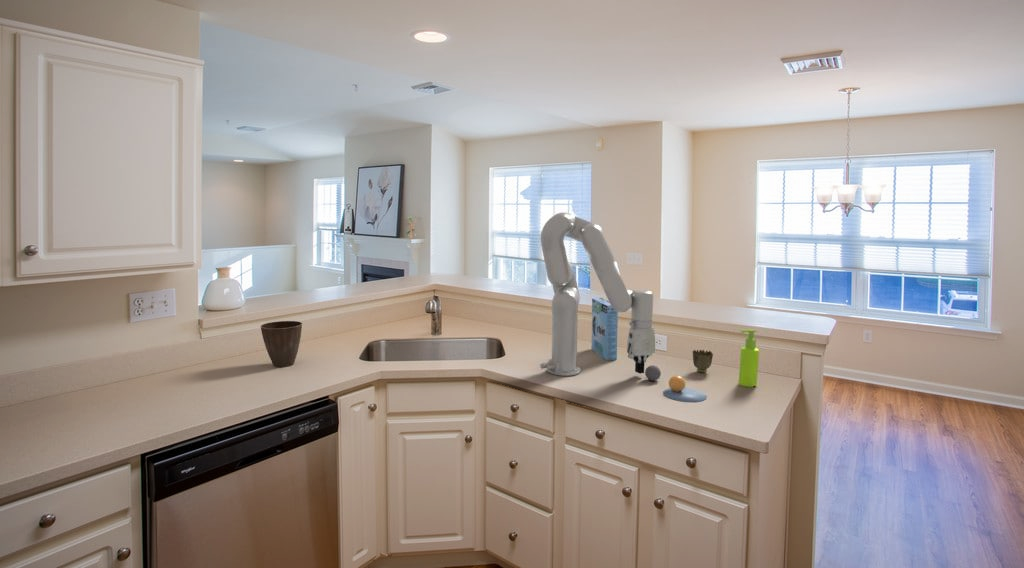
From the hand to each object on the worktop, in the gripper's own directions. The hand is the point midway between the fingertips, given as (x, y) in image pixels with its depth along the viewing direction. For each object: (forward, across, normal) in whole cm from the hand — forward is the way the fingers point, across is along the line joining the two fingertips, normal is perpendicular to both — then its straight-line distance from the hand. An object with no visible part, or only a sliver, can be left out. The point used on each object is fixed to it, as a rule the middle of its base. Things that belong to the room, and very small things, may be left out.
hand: (639, 372), depth 208 cm
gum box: (+2, +7, +31) cm, 32 cm away
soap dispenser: (+2, +28, -24) cm, 37 cm away
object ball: (-1, 0, -19) cm, 19 cm away
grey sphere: (-1, +1, -6) cm, 6 cm away
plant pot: (+2, -116, +74) cm, 137 cm away
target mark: (+2, 0, -23) cm, 23 cm away
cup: (+2, +25, -6) cm, 26 cm away
